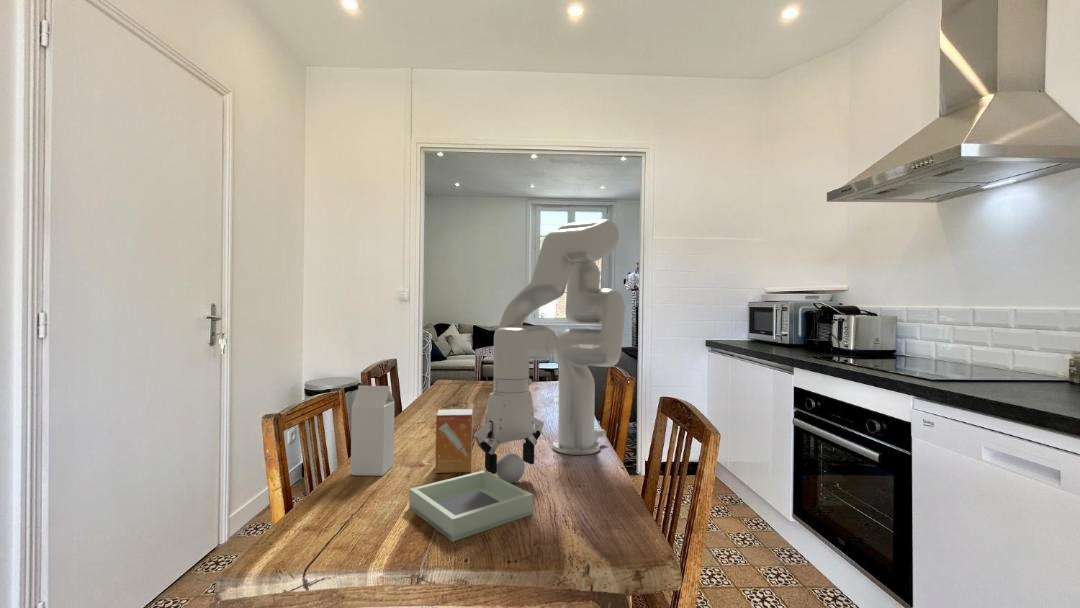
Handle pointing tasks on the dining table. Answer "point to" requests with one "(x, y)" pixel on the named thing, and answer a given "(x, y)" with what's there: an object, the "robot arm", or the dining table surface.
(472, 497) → the felt pad
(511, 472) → the ball
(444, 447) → the small box
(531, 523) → the dining table surface
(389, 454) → the milk carton
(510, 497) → the tray
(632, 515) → the dining table surface
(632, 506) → the dining table surface
